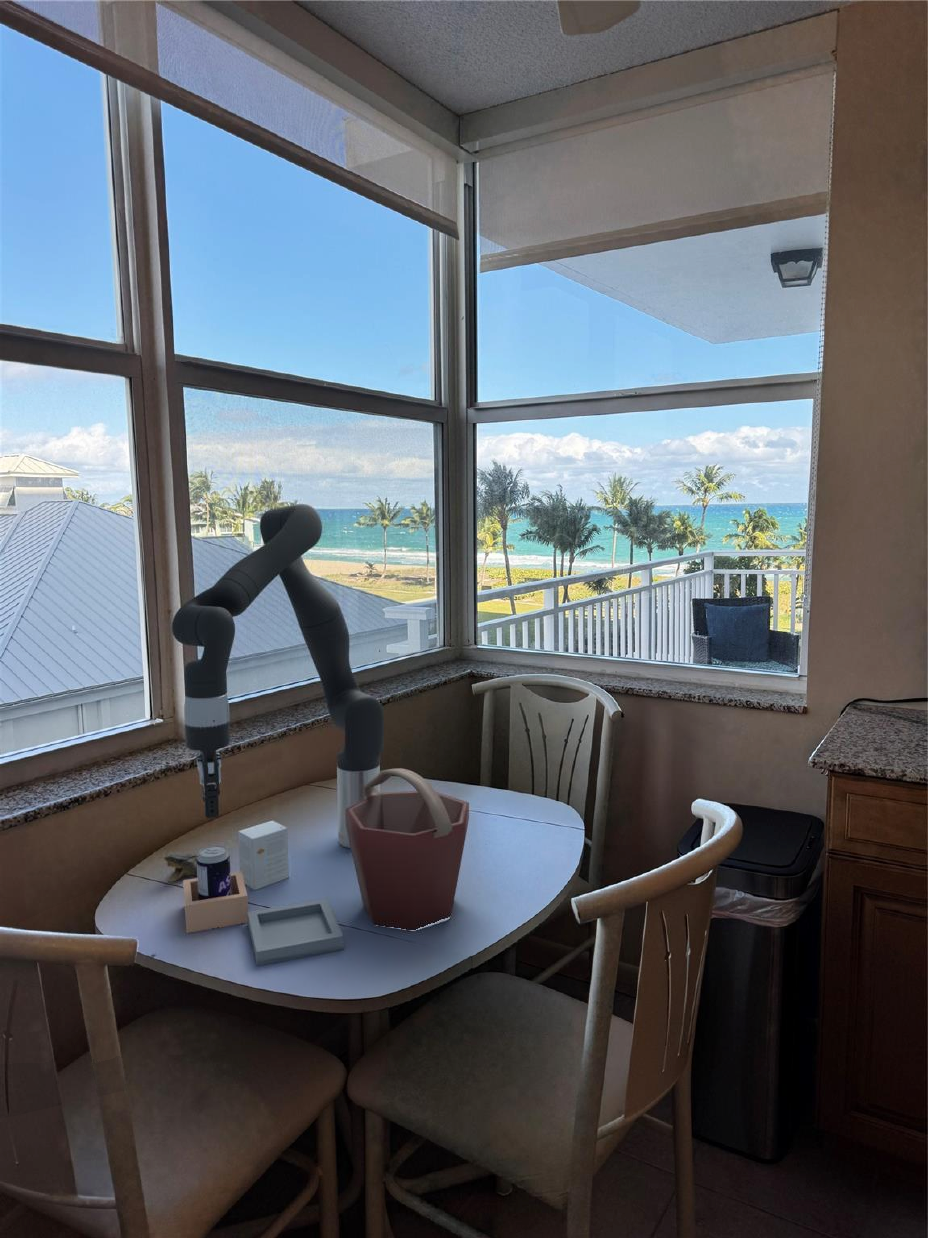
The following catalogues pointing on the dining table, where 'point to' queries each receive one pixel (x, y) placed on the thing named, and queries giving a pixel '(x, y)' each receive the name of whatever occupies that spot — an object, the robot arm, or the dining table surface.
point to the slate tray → (294, 931)
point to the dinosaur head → (182, 865)
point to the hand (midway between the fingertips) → (210, 808)
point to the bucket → (407, 851)
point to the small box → (263, 854)
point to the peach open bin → (215, 906)
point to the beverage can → (213, 872)
